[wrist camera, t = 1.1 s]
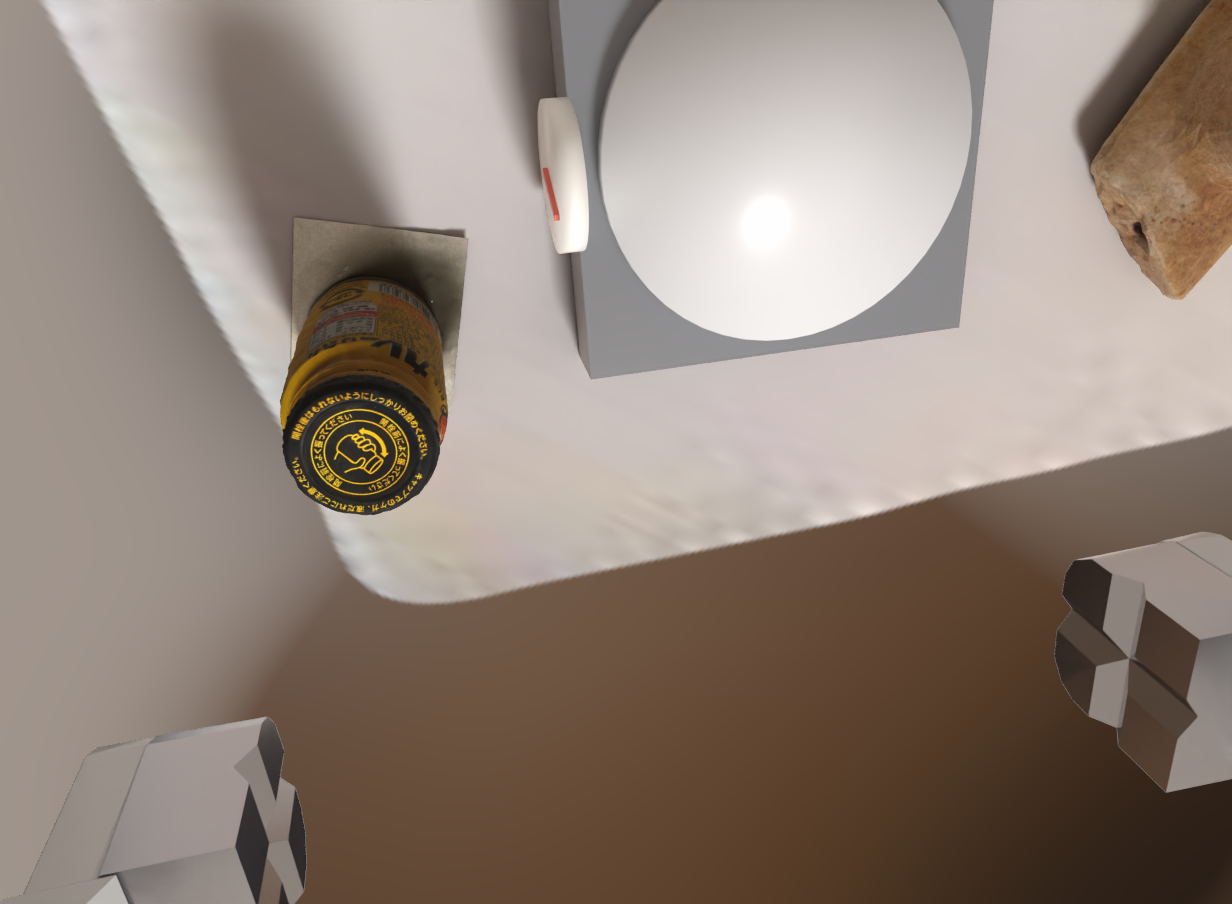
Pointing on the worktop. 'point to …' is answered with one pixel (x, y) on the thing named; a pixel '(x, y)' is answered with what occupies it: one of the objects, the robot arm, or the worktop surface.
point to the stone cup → (1176, 160)
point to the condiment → (370, 361)
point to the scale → (760, 172)
